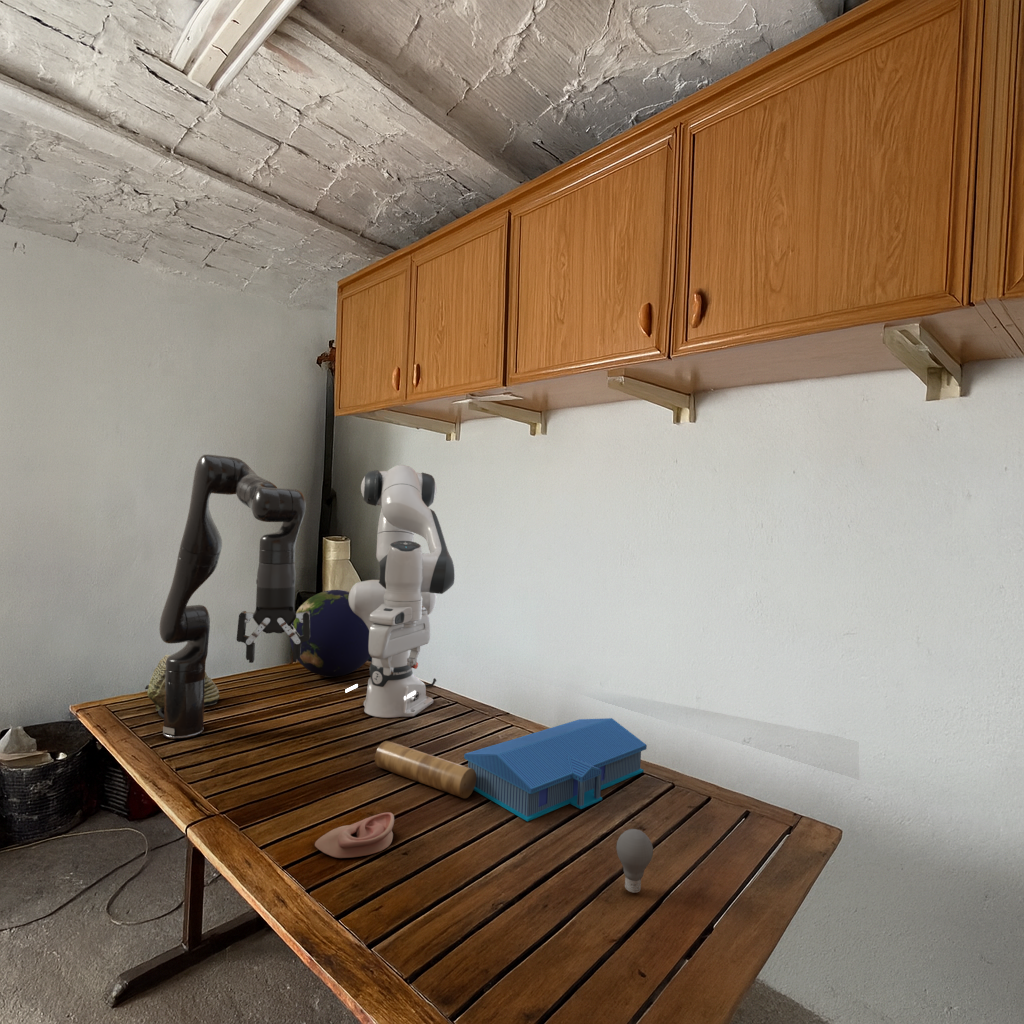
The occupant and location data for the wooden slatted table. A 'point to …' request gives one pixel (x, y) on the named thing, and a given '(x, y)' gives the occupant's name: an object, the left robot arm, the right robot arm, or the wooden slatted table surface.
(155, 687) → the fossil
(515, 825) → the wooden slatted table surface
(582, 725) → the model building
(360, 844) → the anatomical model
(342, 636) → the globe
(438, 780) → the rod
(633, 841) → the light bulb
